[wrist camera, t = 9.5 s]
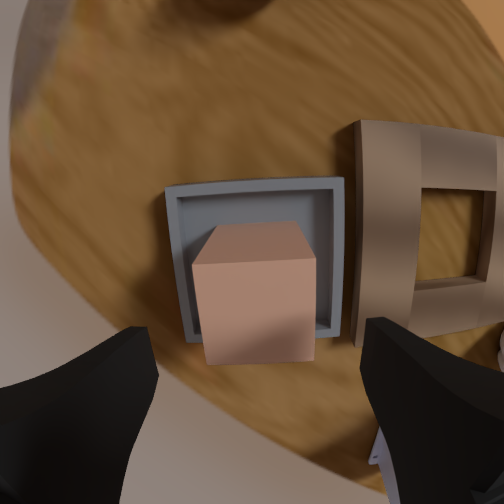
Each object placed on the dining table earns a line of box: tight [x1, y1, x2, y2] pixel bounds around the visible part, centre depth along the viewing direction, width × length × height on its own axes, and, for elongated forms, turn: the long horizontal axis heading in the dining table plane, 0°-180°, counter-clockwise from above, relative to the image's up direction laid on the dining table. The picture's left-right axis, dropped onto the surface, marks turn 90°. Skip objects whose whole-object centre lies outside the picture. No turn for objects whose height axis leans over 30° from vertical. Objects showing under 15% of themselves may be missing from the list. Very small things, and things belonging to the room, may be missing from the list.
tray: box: [165, 176, 344, 343], centre depth 18 cm, size 10×10×2 cm
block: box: [192, 221, 316, 365], centre depth 15 cm, size 4×4×7 cm
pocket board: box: [350, 120, 504, 347], centre depth 18 cm, size 14×14×2 cm
